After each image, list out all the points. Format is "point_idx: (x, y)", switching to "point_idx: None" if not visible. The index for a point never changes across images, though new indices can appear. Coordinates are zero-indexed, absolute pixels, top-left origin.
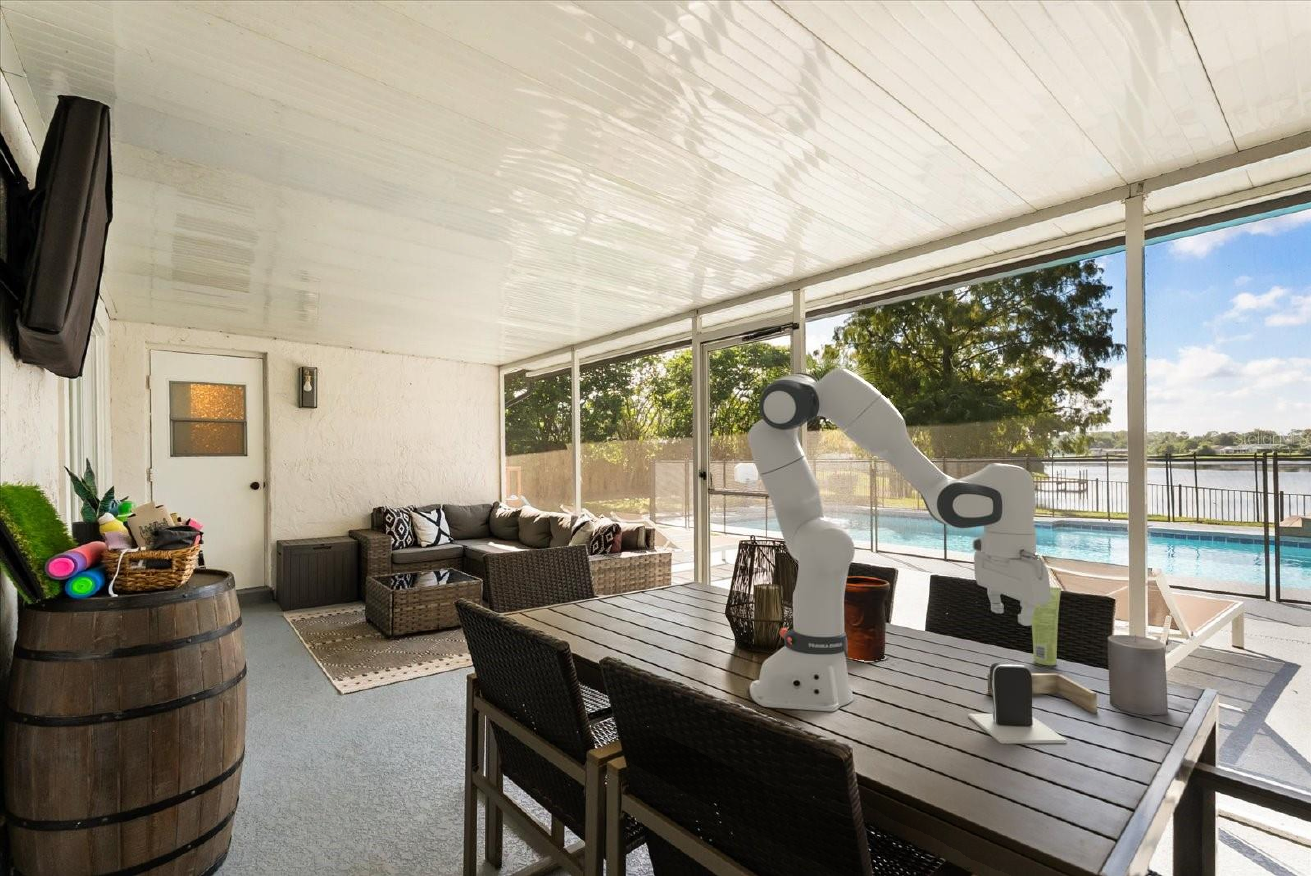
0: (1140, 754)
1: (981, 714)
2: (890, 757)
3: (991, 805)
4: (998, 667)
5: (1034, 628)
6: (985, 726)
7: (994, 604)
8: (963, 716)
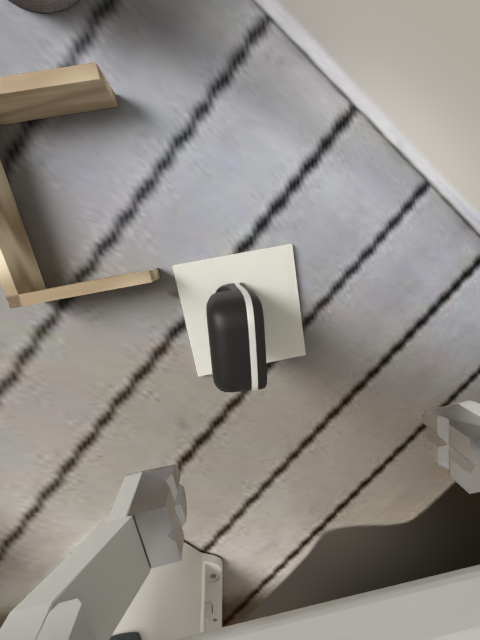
0: (322, 125)
1: (197, 355)
2: (360, 498)
3: None
4: (261, 386)
5: None
6: None
7: (177, 560)
8: (197, 381)
